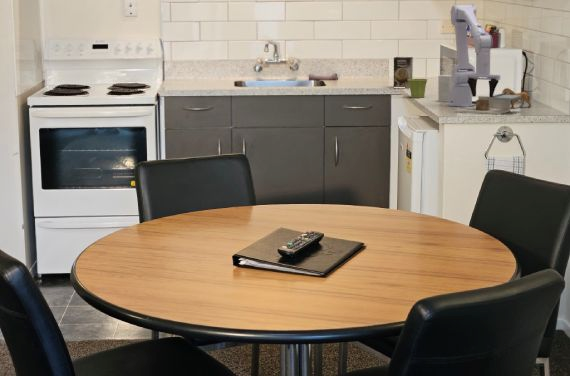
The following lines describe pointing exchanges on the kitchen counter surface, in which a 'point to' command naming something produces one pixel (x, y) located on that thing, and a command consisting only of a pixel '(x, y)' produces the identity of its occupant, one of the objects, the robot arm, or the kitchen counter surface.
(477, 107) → the block
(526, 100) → the lion figurine
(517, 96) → the cover
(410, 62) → the coffee box
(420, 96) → the plant pot
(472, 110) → the puzzle board
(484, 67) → the robot arm
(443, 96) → the skincare box
